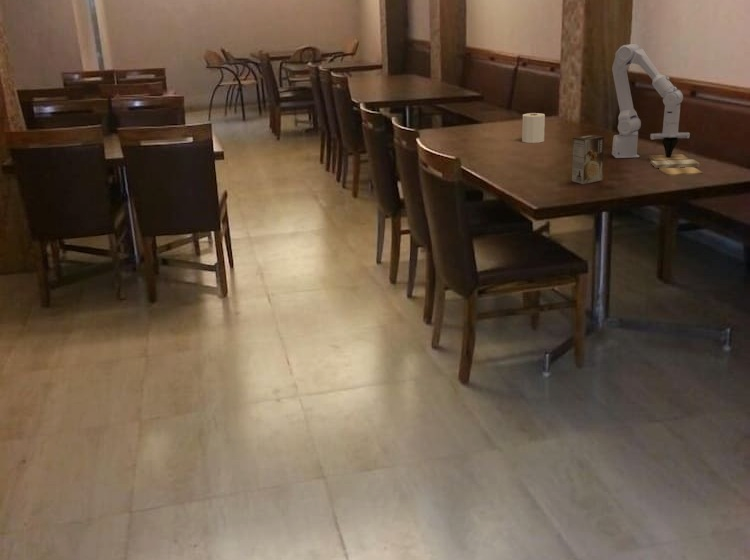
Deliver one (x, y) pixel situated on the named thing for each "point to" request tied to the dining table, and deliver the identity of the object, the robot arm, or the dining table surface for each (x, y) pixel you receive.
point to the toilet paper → (533, 127)
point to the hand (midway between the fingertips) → (668, 156)
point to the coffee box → (587, 159)
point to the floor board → (675, 163)
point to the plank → (680, 171)
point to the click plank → (663, 157)
